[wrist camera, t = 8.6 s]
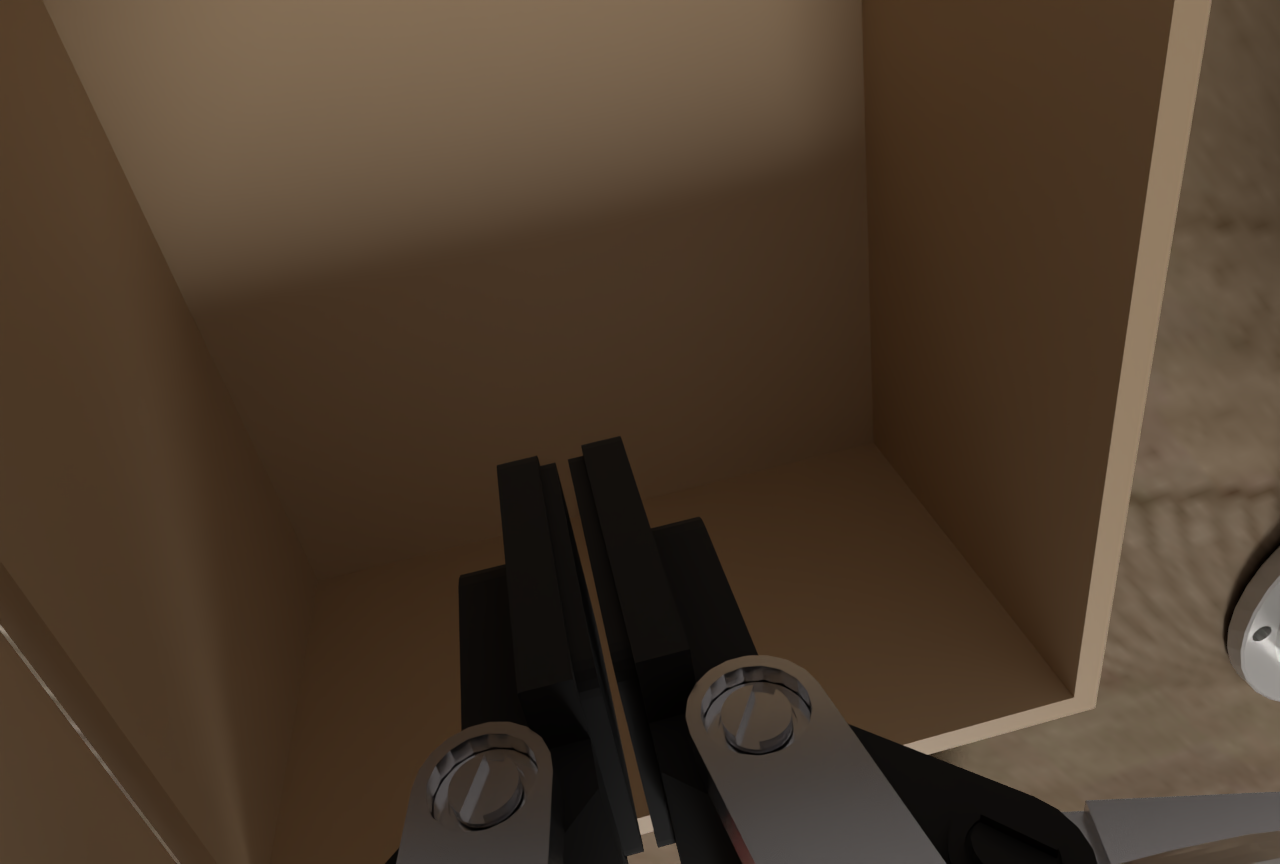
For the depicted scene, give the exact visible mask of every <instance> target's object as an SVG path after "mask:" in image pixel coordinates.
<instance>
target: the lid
mask: <svg viewBox="0 0 1280 864" xmlns="http://www.w3.org/2000/svg"><path fill="white" fill-rule="evenodd" d="M0 864H176V862H175V861H174V860H173V859H172V857H171V856H170V855H169V853H168V852H167V851H166V849H165V848H164V847H163V845H162V844H161V843H160V841H159V840H158V839H157V837H156V836H155V835H154V833H153V832H152V831H151V830H150V828H149V827H148V826H147V824H146V823H145V822H144V820H143V819H142V818H141V816H140V815H139V814H138V812H137V811H136V810H135V808H134V807H133V806H132V804H131V803H130V802H129V800H128V799H127V798H126V797H125V795H124V794H123V793H122V791H121V790H120V789H119V787H118V786H117V785H116V783H115V782H114V781H113V779H112V778H111V777H110V775H109V774H108V773H107V771H106V770H105V769H104V768H103V766H102V765H101V764H100V762H99V761H98V760H97V758H96V757H95V756H94V754H93V753H92V752H91V750H90V749H89V748H88V746H87V745H86V744H85V742H84V741H83V740H82V739H81V737H80V736H79V735H78V733H77V732H76V731H75V729H74V728H73V727H72V725H71V724H70V723H69V721H68V720H67V719H66V717H65V716H64V715H63V713H62V712H61V711H60V709H59V708H58V707H57V706H56V704H55V703H54V702H53V700H52V699H51V698H50V696H49V695H48V694H47V692H46V691H45V690H44V688H43V687H42V686H41V684H40V683H39V682H38V680H37V679H36V678H35V677H34V675H33V674H32V673H31V671H30V670H29V669H28V667H27V666H26V665H25V663H24V662H23V661H22V659H21V658H20V657H19V655H18V654H17V653H16V651H15V650H14V649H13V647H12V646H11V645H10V644H9V642H8V641H7V640H6V638H5V637H4V636H3V634H2V633H1V632H0Z"/></svg>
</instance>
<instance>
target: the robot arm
mask: <svg viewBox="0 0 1280 864" xmlns="http://www.w3.org/2000/svg"><path fill="white" fill-rule="evenodd" d="M581 448H582V452H583V456H580V457H576V458H572V459H568V463H569V468H570V472H571V477H572V482H573V486H574V491H575V495H576V500H577V505H578V509H579V514H580V518H581V523H582V528H583V532H584V537H585V541H586V546H587V550H588V555H589V560H590V564H591V569H592V573H593V578H594V583H595V587H596V592H597V596H598V601H599V606H600V610H601V615H602V619H603V624H604V628H605V633H606V638H607V642H608V647H609V651H610V656H611V660H612V664H613V669H614V673H615V677H616V681H617V685H618V690H619V694H620V698H621V702H622V706H623V710H624V714H625V718H626V722H627V726H628V730H629V734H630V738H631V742H632V746H633V750H634V754H635V758H636V762H637V766H638V770H639V774H640V778H641V782H642V786H643V790H644V794H645V798H646V802H647V806H648V810H649V814H650V818H651V822H652V826H653V830H654V834H655V838H656V842H657V845H658V847H662V846H666V845H669V844H673V843H676V845H677V849H678V853H679V857H680V861H681V864H1280V792H1264V793H1242V794H1220V795H1198V796H1176V797H1155V798H1133V799H1111V800H1089V801H1086V802H1085V807H1084V811H1077V812H1060V811H1059V810H1058V809H1056V808H1054V807H1052V806H1051V805H1049V804H1047V803H1045V802H1043V801H1041V800H1039V799H1037V798H1036V797H1034V796H1031V795H1029V794H1026V793H1023V792H1021V791H1018V790H1016V789H1013V788H1011V787H1008V786H1006V785H1003V784H1001V783H998V782H995V781H993V780H990V779H988V778H985V777H983V776H980V775H978V774H975V773H973V772H970V771H967V770H965V769H962V768H960V767H957V766H955V765H952V764H950V763H947V762H945V761H942V760H939V759H937V758H934V757H932V756H929V755H927V754H924V753H922V752H919V751H917V750H914V749H911V748H909V747H906V746H904V745H901V744H899V743H896V742H894V741H891V740H889V739H886V738H883V737H881V736H878V735H876V734H873V733H871V732H868V731H866V730H863V729H861V728H858V727H855V726H853V725H850V724H848V723H847V722H846V721H845V719H844V718H843V716H842V715H841V714H840V712H839V711H838V709H837V708H836V706H835V705H834V704H833V702H832V701H831V699H830V698H829V696H828V695H827V694H826V692H825V691H824V689H823V688H822V687H821V685H820V684H819V682H818V681H817V680H816V679H815V678H814V677H813V676H812V675H811V674H810V673H809V672H808V671H807V670H806V669H804V668H802V667H800V666H798V665H796V664H795V663H793V662H791V661H789V660H786V659H782V658H777V657H773V656H769V655H758V653H757V651H756V648H755V646H754V643H753V641H752V638H751V636H750V634H749V631H748V629H747V626H746V624H745V621H744V619H743V617H742V614H741V612H740V609H739V607H738V604H737V602H736V600H735V597H734V595H733V592H732V590H731V587H730V585H729V583H728V580H727V578H726V575H725V573H724V570H723V568H722V566H721V563H720V561H719V558H718V556H717V553H716V551H715V549H714V546H713V544H712V541H711V539H710V536H709V534H708V532H707V529H706V527H705V525H704V522H703V520H702V519H701V518H700V517H695V518H691V519H687V520H683V521H679V522H675V523H671V524H667V525H663V526H658V527H654V528H650V525H649V521H648V518H647V515H646V512H645V509H644V506H643V503H642V500H641V497H640V494H639V491H638V488H637V485H636V481H635V478H634V475H633V472H632V469H631V466H630V463H629V460H628V457H627V454H626V451H625V448H624V444H623V441H622V439H621V436H617V437H613V438H609V439H605V440H601V441H596V442H592V443H588V444H584V445H581ZM497 478H498V489H499V500H500V511H501V521H502V532H503V543H504V554H505V564H504V565H500V566H496V567H491V568H487V569H483V570H479V571H475V572H471V573H467V574H463V575H460V577H459V584H458V594H459V641H460V688H461V732H459V733H457V734H455V735H453V736H451V737H449V738H448V739H447V740H445V741H444V742H443V743H442V744H441V745H440V746H438V747H437V748H436V749H435V750H434V751H433V752H431V754H430V755H429V756H428V758H427V759H426V761H425V762H424V763H423V765H422V766H421V767H420V769H419V770H418V773H417V775H416V778H415V781H414V784H413V786H412V789H411V793H410V798H409V803H408V808H407V813H406V818H405V822H404V827H403V832H402V837H401V842H400V847H399V848H398V849H397V850H396V852H395V853H394V854H393V855H392V856H391V857H390V858H389V859H388V860H387V862H386V863H385V864H628V860H627V856H629V855H633V854H636V853H640V852H644V849H643V844H642V839H641V834H640V829H639V824H638V820H637V815H636V810H635V805H634V801H633V796H632V791H631V786H630V781H629V777H628V772H627V767H626V762H625V757H624V753H623V748H622V743H621V738H620V733H619V729H618V724H617V719H616V714H615V709H614V705H613V700H612V695H611V690H610V685H609V681H608V676H607V671H606V666H605V662H604V657H603V652H602V647H601V642H600V638H599V633H598V628H597V624H596V620H595V616H594V612H593V608H592V604H591V600H590V596H589V592H588V588H587V584H586V580H585V576H584V572H583V568H582V564H581V560H580V556H579V553H578V549H577V545H576V541H575V537H574V533H573V529H572V525H571V521H570V517H569V513H568V509H567V505H566V501H565V497H564V494H563V490H562V486H561V482H560V478H559V474H558V470H557V466H556V463H551V464H546V465H542V466H540V463H539V459H538V457H537V456H533V457H529V458H525V459H520V460H516V461H512V462H508V463H504V464H499V465H497ZM1227 649H1228V654H1229V659H1230V662H1231V664H1232V666H1233V667H1234V669H1235V670H1236V672H1237V674H1238V675H1239V676H1240V677H1241V678H1242V679H1243V680H1244V681H1246V682H1247V683H1248V684H1249V685H1250V686H1251V687H1252V688H1253V689H1254V690H1255V691H1256V692H1257V693H1259V694H1261V695H1263V696H1265V697H1267V698H1268V699H1271V700H1275V701H1279V702H1280V546H1279V547H1278V548H1277V549H1276V550H1275V551H1274V552H1273V553H1272V554H1271V555H1270V556H1269V558H1268V559H1267V560H1266V561H1265V562H1264V563H1263V564H1262V565H1261V567H1260V568H1259V569H1258V571H1257V572H1256V573H1255V575H1254V576H1253V578H1252V579H1251V580H1250V582H1249V583H1248V584H1247V586H1246V588H1245V590H1244V591H1243V593H1242V595H1241V597H1240V599H1239V601H1238V603H1237V605H1236V607H1235V609H1234V612H1233V616H1232V619H1231V622H1230V625H1229V629H1228V641H1227Z"/></svg>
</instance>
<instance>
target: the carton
mask: <svg viewBox="0 0 1280 864" xmlns="http://www.w3.org/2000/svg"><path fill="white" fill-rule="evenodd" d="M1211 3H1212V0H0V624H1V625H2V627H3V628H4V629H5V631H6V632H7V633H8V635H9V636H10V637H11V639H12V640H13V641H14V643H15V644H16V645H17V647H18V648H19V649H20V651H21V652H22V653H23V655H24V656H25V657H26V659H27V660H28V661H29V663H30V664H31V665H32V666H33V668H34V669H35V670H36V672H37V673H38V674H39V676H40V677H41V678H42V680H43V681H44V682H45V684H46V685H47V686H48V688H49V689H50V690H51V692H52V693H53V694H54V696H55V697H56V698H57V700H58V701H59V702H60V704H61V705H62V706H63V708H64V709H65V710H66V712H67V713H68V714H69V716H70V717H71V718H72V720H73V721H74V722H75V724H76V725H77V726H78V728H79V729H80V730H81V732H82V733H83V734H84V736H85V737H86V738H87V739H88V741H89V742H90V743H91V745H92V746H93V747H94V749H95V750H96V751H97V753H98V754H99V755H100V757H101V758H102V759H103V761H104V762H105V763H106V765H107V766H108V767H109V769H110V770H111V771H112V773H113V774H114V775H115V777H116V778H117V779H118V781H119V782H120V783H121V785H122V786H123V787H124V789H125V790H126V791H127V793H128V794H129V795H130V797H131V798H132V799H133V801H134V802H135V803H136V805H137V806H138V807H139V809H140V810H141V811H142V813H143V814H144V815H145V816H146V818H147V819H148V820H149V822H150V823H151V824H152V826H153V827H154V828H155V830H156V831H157V832H158V834H159V835H160V836H161V838H162V839H163V840H164V842H165V843H166V844H167V846H168V847H169V848H170V850H171V851H172V852H173V854H174V855H175V856H176V858H177V859H178V860H179V862H180V863H181V864H385V863H386V862H387V860H388V859H389V858H390V857H391V856H392V855H393V854H394V853H395V852H396V850H397V849H398V848H399V847H400V842H401V837H402V832H403V827H404V822H405V818H406V813H407V808H408V803H409V798H410V793H411V789H412V786H413V784H414V781H415V778H416V775H417V773H418V770H419V769H420V767H421V766H422V765H423V763H424V762H425V761H426V759H427V758H428V756H429V755H430V754H431V752H433V751H434V750H435V749H436V748H437V747H438V746H440V745H441V744H442V743H443V742H444V741H445V740H447V739H448V738H449V737H451V736H453V735H455V734H457V733H459V732H461V688H460V641H459V594H458V584H459V577H460V575H463V574H467V573H471V572H475V571H479V570H483V569H487V568H491V567H496V566H500V565H504V564H505V554H504V543H503V532H502V521H501V511H500V500H499V489H498V478H497V465H499V464H504V463H508V462H512V461H516V460H520V459H525V458H529V457H533V456H537V457H538V459H539V463H540V466H542V465H546V464H551V463H556V466H557V470H558V474H559V478H560V482H561V486H562V490H563V494H564V497H565V501H566V505H567V509H568V513H569V517H570V521H571V525H572V529H573V533H574V537H575V541H576V545H577V549H578V553H579V556H580V560H581V564H582V568H583V572H584V576H585V580H586V584H587V588H588V592H589V596H590V600H591V604H592V608H593V612H594V616H595V620H596V624H597V628H598V633H599V638H600V642H601V647H602V652H603V657H604V662H605V666H606V671H607V676H608V681H609V685H610V690H611V695H612V700H613V705H614V709H615V714H616V719H617V724H618V729H619V733H620V738H621V743H622V748H623V753H624V757H625V762H626V767H627V772H628V777H629V781H630V786H631V791H632V796H633V801H634V805H635V810H636V815H637V820H638V824H639V829H640V834H641V835H642V834H645V833H649V832H653V831H654V830H653V826H652V822H651V818H650V814H649V810H648V806H647V802H646V798H645V794H644V790H643V786H642V782H641V778H640V774H639V770H638V766H637V762H636V758H635V754H634V750H633V746H632V742H631V738H630V734H629V730H628V726H627V722H626V718H625V714H624V710H623V706H622V702H621V698H620V694H619V690H618V685H617V681H616V677H615V673H614V669H613V664H612V660H611V656H610V651H609V647H608V642H607V638H606V633H605V628H604V624H603V619H602V615H601V610H600V606H599V601H598V596H597V592H596V587H595V583H594V578H593V573H592V569H591V564H590V560H589V555H588V550H587V546H586V541H585V537H584V532H583V528H582V523H581V518H580V514H579V509H578V505H577V500H576V495H575V491H574V486H573V482H572V477H571V472H570V468H569V463H568V459H572V458H576V457H580V456H583V452H582V448H581V445H584V444H588V443H592V442H596V441H601V440H605V439H609V438H613V437H617V436H621V439H622V441H623V444H624V448H625V451H626V454H627V457H628V460H629V463H630V466H631V469H632V472H633V475H634V478H635V481H636V485H637V488H638V491H639V494H640V497H641V500H642V503H643V506H644V509H645V512H646V515H647V518H648V521H649V525H650V528H654V527H658V526H663V525H667V524H671V523H675V522H679V521H683V520H687V519H691V518H695V517H700V518H701V519H702V520H703V522H704V525H705V527H706V529H707V532H708V534H709V536H710V539H711V541H712V544H713V546H714V549H715V551H716V553H717V556H718V558H719V561H720V563H721V566H722V568H723V570H724V573H725V575H726V578H727V580H728V583H729V585H730V587H731V590H732V592H733V595H734V597H735V600H736V602H737V604H738V607H739V609H740V612H741V614H742V617H743V619H744V621H745V624H746V626H747V629H748V631H749V634H750V636H751V638H752V641H753V643H754V646H755V648H756V651H757V653H758V655H769V656H773V657H777V658H782V659H786V660H789V661H791V662H793V663H795V664H796V665H798V666H800V667H802V668H804V669H806V670H807V671H808V672H809V673H810V674H811V675H812V676H813V677H814V678H815V679H816V680H817V681H818V682H819V684H820V685H821V687H822V688H823V689H824V691H825V692H826V694H827V695H828V696H829V698H830V699H831V701H832V702H833V704H834V705H835V706H836V708H837V709H838V711H839V712H840V714H841V715H842V716H843V718H844V719H845V721H846V722H847V723H848V724H850V725H853V726H855V727H858V728H861V729H863V730H866V731H868V732H871V733H873V734H876V735H878V736H881V737H883V738H886V739H889V740H891V741H894V742H896V743H899V744H901V745H904V746H906V747H909V748H911V749H914V750H917V751H919V752H922V753H924V754H927V755H929V754H932V753H936V752H940V751H943V750H947V749H950V748H954V747H957V746H961V745H965V744H968V743H972V742H975V741H979V740H983V739H986V738H990V737H993V736H997V735H1001V734H1004V733H1008V732H1011V731H1015V730H1018V729H1022V728H1026V727H1029V726H1033V725H1036V724H1040V723H1044V722H1047V721H1051V720H1054V719H1058V718H1061V717H1065V716H1069V715H1072V714H1076V713H1079V712H1083V711H1087V710H1090V709H1094V708H1095V707H1096V701H1097V695H1098V689H1099V682H1100V676H1101V670H1102V664H1103V658H1104V652H1105V646H1106V640H1107V634H1108V628H1109V622H1110V616H1111V610H1112V604H1113V598H1114V591H1115V585H1116V579H1117V573H1118V567H1119V561H1120V555H1121V549H1122V543H1123V537H1124V531H1125V525H1126V519H1127V513H1128V506H1129V500H1130V494H1131V488H1132V482H1133V476H1134V470H1135V464H1136V458H1137V452H1138V446H1139V440H1140V434H1141V428H1142V421H1143V415H1144V409H1145V403H1146V397H1147V391H1148V385H1149V379H1150V373H1151V367H1152V361H1153V355H1154V349H1155V343H1156V337H1157V330H1158V324H1159V318H1160V312H1161V306H1162V300H1163V294H1164V288H1165V282H1166V276H1167V270H1168V264H1169V258H1170V252H1171V245H1172V239H1173V233H1174V227H1175V221H1176V215H1177V209H1178V203H1179V197H1180V191H1181V185H1182V179H1183V173H1184V167H1185V161H1186V154H1187V148H1188V142H1189V136H1190V130H1191V124H1192V118H1193V112H1194V106H1195V100H1196V94H1197V88H1198V82H1199V76H1200V69H1201V63H1202V57H1203V51H1204V45H1205V39H1206V33H1207V27H1208V21H1209V15H1210V9H1211Z"/></svg>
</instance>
